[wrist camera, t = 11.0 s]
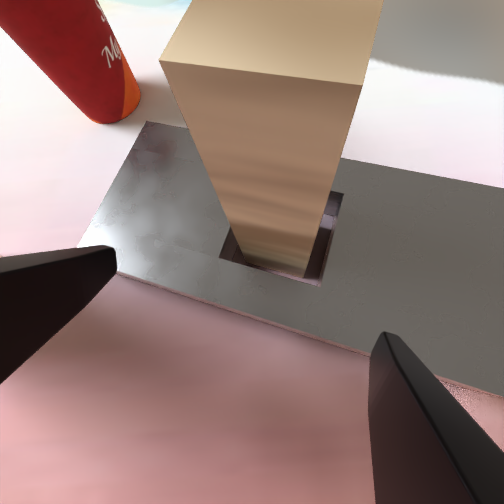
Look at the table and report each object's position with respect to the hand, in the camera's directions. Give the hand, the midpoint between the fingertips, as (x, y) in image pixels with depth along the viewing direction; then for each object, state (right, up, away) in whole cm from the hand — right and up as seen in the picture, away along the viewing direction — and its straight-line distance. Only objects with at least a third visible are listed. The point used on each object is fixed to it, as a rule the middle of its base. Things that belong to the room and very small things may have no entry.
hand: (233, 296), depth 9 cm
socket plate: (+3, +2, +10) cm, 11 cm away
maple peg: (+3, +2, +10) cm, 11 cm away
